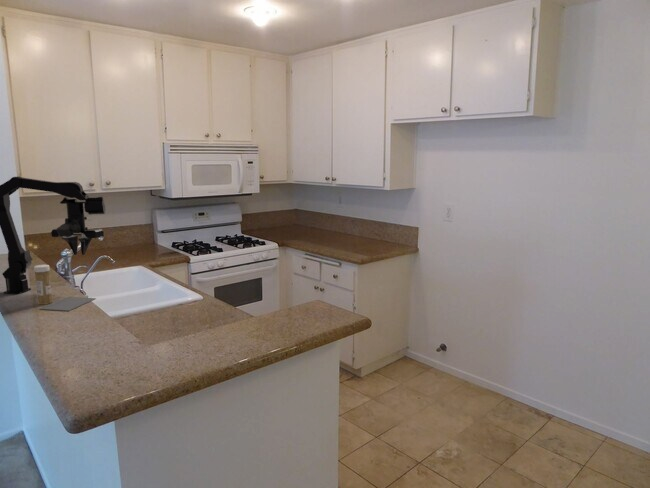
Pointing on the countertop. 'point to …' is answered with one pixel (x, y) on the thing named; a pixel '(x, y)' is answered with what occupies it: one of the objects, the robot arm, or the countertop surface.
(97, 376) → the countertop surface
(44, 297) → the sprinkles bottle
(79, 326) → the countertop surface
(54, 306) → the mat
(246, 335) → the countertop surface
